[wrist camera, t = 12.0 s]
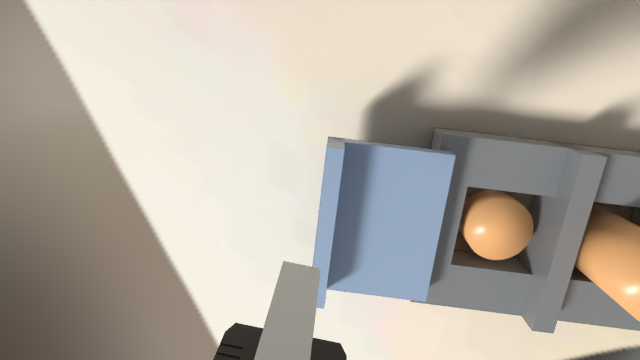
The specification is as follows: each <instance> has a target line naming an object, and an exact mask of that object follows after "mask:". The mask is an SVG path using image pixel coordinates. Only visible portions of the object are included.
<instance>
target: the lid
mask: <svg viewBox="0 0 640 360" xmlns="http://www.w3.org/2000/svg"><path fill="white" fill-rule="evenodd" d="M455 157H456V155H455V154H453V153H452V152H451V151H444V150H436V149H427V148H419V147H411V146H402V145H394V144H386V143H377V142H369V141H361V140H352V139H344V138H336V137H328V142H327V148H326V156H325V165H324V173H323V181H322V190H321V198H320V207H319V215H318V224H317V232H316V241H315V249H314V258H313V266H312V267H314V268H319V269H321V270H320V278H319V287H318V296H317V305H316V308H324V304H325V296H326V289H328V290H336V291H344V292H352V293H360V294H368V295H376V296H383V297H391V298H399V299H407V300H415V301H423V302H426V298H427V293H428V288H429V283H430V278H431V274H432V269H433V264H434V259H435V254H436V249H437V244H438V239H439V235H440V230H441V225H442V220H443V215H444V210H445V205H446V200H447V196H448V191H449V186H450V181H451V176H452V171H453V166H454V161H455Z"/></svg>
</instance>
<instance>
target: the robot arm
mask: <svg viewBox="0 0 640 360" xmlns="http://www.w3.org/2000/svg"><path fill="white" fill-rule="evenodd" d="M320 270H321V269H319V268H314V267H310V266H305V265H300V264H295V263H290V262H286V261H283V265H282V268H281V271H280V275H279V278H278V281H277V285H276V288H275V291H274V295H273V298H272V301H271V305H270V308H269V311H268V315H267V318H266V321H265V325H264V328H258V327H253V326H248V325H243V324H239V323H235V324H234V325H233V326H232V327H230V328H229V329H228V330H227V331H225V334H224V336H223V338H222V341H221V343H220V345H219V348H218V350H217V352H216V355H215V357H214V359H213V360H346V354H345V352H344V350H343V348H342V346H341V344H340V343H336V342H331V341H326V340H321V339H316V338H313V331H314V322H315V313H316V305H317V296H318V287H319V278H320Z"/></svg>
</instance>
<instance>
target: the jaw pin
mask: <svg viewBox="0 0 640 360" xmlns="http://www.w3.org/2000/svg"><path fill="white" fill-rule="evenodd" d="M574 266H575V267H576V268H577V269H579V270H580V271H581V272H582V273H583V274H584V275H586V276H587V277H588V278H589V279H590V280H591V281H593V282H594V283H595V284H596V285H597V286H598V287H599V288H601V289H602V290H603V291H604V292H605V293H606V294H608V295H609V296H610V297H611V298H612V299H613V300H614V301H616V302H617V303H618V304H619V305H620V306H621V307H623V308H624V309H625V310H626V311H627V312H628V313H629V314H631V315H632V316H633V317H634V318H635V319H637V320H638V321H640V227H639V226H637V225H635V224H633V223H632V222H630V221H628V220H626V219H624V218H623V217H621V216H619V215H617V214H615V213H613V212H612V211H610V210H608V209H606V208H604V207H602V206H600V205H597V204H593V206H592V209H591V212H590V216H589V219H588V222H587V225H586V229H585V232H584V235H583V238H582V242H581V245H580V248H579V251H578V255H577V258H576V261H575V265H574Z"/></svg>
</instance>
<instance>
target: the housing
mask: <svg viewBox="0 0 640 360" xmlns="http://www.w3.org/2000/svg"><path fill="white" fill-rule="evenodd" d="M431 149H436V150H444V151H451V152H452V153H453V154H455V155H456V157H455V161H454V166H453V171H452V176H451V181H450V186H449V191H448V196H447V200H446V205H445V210H444V215H443V220H442V225H441V230H440V235H439V239H438V244H437V249H436V254H435V259H434V264H433V269H432V274H431V278H430V283H429V288H428V293H427V298H426V302H423V301H415V300H410V301H411V302H418V303H426V304H433V305H441V306H449V307H457V308H465V309H473V310H480V311H488V312H496V313H504V314H512V315H520V316H522V317H523V318H524V320H525V321H526V323H527V324H528V326H529V327H530V328H531V330H532V331H539V332H547V333H554V330H555V326H556V323H557V320H559V321H567V322H574V323H582V324H590V325H598V326H606V327H614V328H621V329H629V330H637V331H640V321H638V320H637V319H635V318H634V317H633V316H632V315H631V314H629V313H628V312H627V311H626V310H625V309H624V308H623V307H621V306H620V305H619V304H618V303H617V302H616V301H614V300H613V299H612V298H611V297H610V296H609V295H608V294H606V293H605V292H604V291H603V290H602V289H601V288H599V287H598V286H597V285H596V284H595V283H594V282H593V281H591V280H590V279H589V278H588V277H587V276H586V275H584V274H583V273H582V272H581V271H580V270H579V269H577V268H576V267H575V266H574V265H575V261H576V258H577V255H578V251H579V248H580V245H581V242H582V238H583V235H584V232H585V229H586V225H587V222H588V219H589V216H590V212H591V209H592V206H593V203H594V202H599V203H607V204H616V205H624V206H632V207H635V209H634V212H633V215H632V218H631V221H630V222H632V223H633V224H635V225H637V226H639V227H640V152H635V151H626V150H618V149H609V148H601V147H593V146H584V145H576V144H567V143H559V142H551V141H542V140H534V139H525V138H517V137H508V136H500V135H492V134H483V133H475V132H466V131H458V130H450V129H441V128H435V129H434V134H433V140H432V145H431ZM467 187H476V188H484V189H487V190H482V191H479V192H477V193H475V194H473V195H471V196H470V197H469V198H468V199H467V200H466V201H465V197H466V192H467ZM503 191H509V192H517V193H525V194H533V195H535V197H534V201H533V205H532V208H531V212H530V213H529V211H528V210H527V209H526V208H525V207H524V206H523V205H522V204H521V203H519V202H518V201H517V200H515V199H514V198H513V197H512V196H510V195H509V194H507V193H506V192H503ZM464 201H465V202H464ZM458 229H459V230H460V232H461V234H462V235H463V237H464V238H465V240H466V241H467V243H468V244H469V246H470V247H471V248H472V250H473V251H474V252H475V253H471V252H463V251H455V250H454V247H455V243H456V238H457V233H458ZM519 252H520V254H519V257H518V258H511V257H513V256H515V255H517V254H518V253H519Z"/></svg>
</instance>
